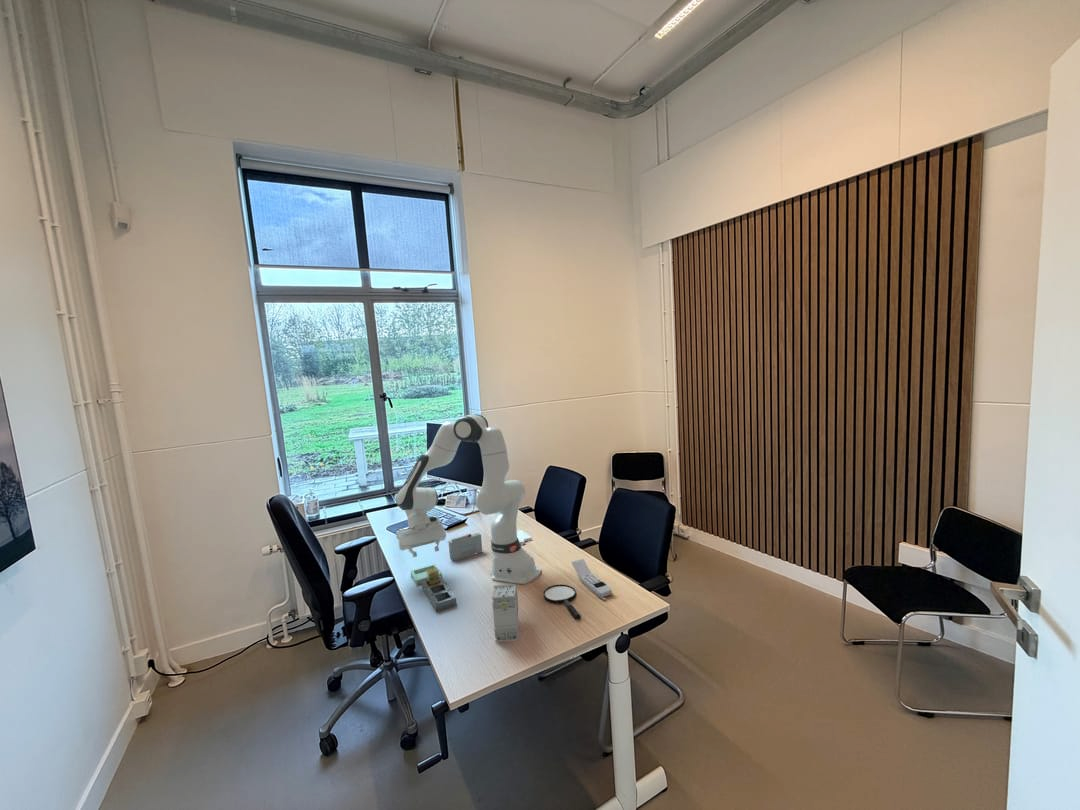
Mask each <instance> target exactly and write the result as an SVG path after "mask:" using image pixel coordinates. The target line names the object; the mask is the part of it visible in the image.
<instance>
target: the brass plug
mask: <svg viewBox="0 0 1080 810" xmlns="http://www.w3.org/2000/svg"><path fill="white" fill-rule="evenodd" d="M438 569H439V568H438ZM438 569H437V568H436V567H435V568H431V569H427V570H426V572H427V582H428V585H429V586H431V585H434V584H438V583H440V582H439V571H438Z"/></svg>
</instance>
